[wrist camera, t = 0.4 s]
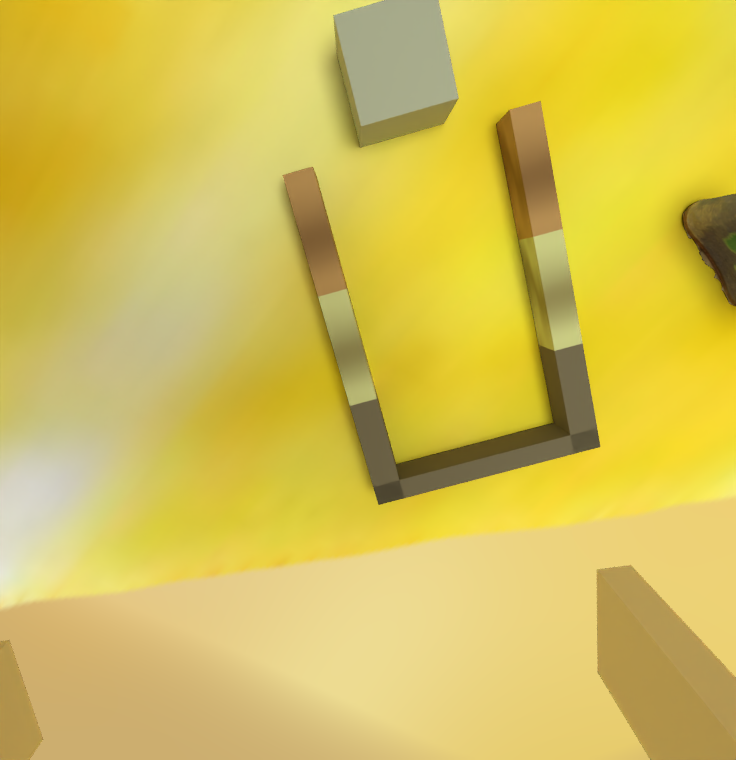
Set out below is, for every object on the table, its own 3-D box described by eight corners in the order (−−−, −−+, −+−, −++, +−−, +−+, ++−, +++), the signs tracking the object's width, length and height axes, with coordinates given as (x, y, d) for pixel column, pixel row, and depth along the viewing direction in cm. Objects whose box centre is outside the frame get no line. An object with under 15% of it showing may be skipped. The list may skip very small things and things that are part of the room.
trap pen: (350, 395, 37) (349, 405, 34) (564, 337, 37) (582, 343, 34) (376, 487, 39) (378, 504, 36) (581, 433, 38) (600, 446, 35)
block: (336, 54, 32) (333, 15, 27) (423, 29, 32) (435, -15, 27) (360, 148, 33) (361, 126, 29) (443, 124, 33) (458, 98, 28)
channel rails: (289, 183, 34) (282, 175, 31) (524, 116, 33) (540, 101, 30) (350, 395, 37) (349, 405, 34) (564, 337, 37) (582, 343, 34)
